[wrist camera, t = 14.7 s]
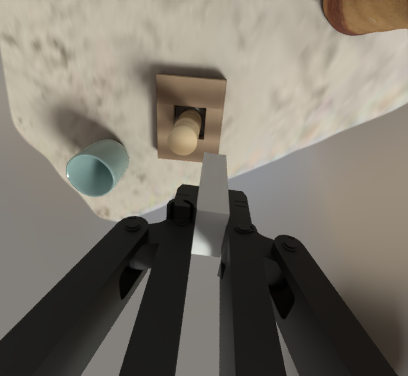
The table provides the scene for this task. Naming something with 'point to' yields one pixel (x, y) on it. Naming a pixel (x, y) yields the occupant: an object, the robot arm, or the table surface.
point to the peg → (185, 132)
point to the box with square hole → (194, 97)
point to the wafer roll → (366, 15)
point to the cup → (98, 167)
